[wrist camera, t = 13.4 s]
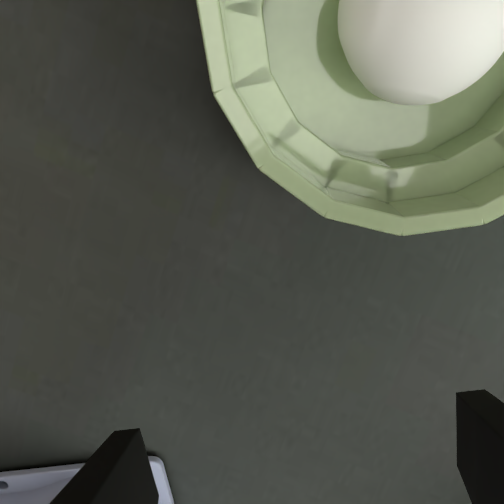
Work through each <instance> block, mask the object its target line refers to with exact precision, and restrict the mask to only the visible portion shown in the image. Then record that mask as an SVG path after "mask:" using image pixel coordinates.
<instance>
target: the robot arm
mask: <svg viewBox="0 0 504 504" xmlns="http://www.w3.org/2000/svg"><path fill="white" fill-rule="evenodd" d="M456 416H457V467H458V469H459V472H460V474H461V477H462V479H463V482H464V484H465V487H466V490H467V492H468V494H469V497H470V499H471V502H472V504H504V403H503V402H501V401H500V400H499V399H497V398H496V397H495V396H493V395H492V394H490V393H489V392H488V391H486V390H485V389H484V390H475V391H466V392H458V393H456ZM0 504H174V500H173V496H172V493H171V489H170V486H169V482H168V478H167V475H166V471H165V468H164V464H163V462H162V460H161V459H160V458H158V457H156V456H147V452H146V449H145V445H144V442H143V438H142V435H141V431H140V428H137V429H128V430H120V431H114V432H113V433H112V434H111V435H110V436H109V437H108V438H107V439H106V441H105V442H104V443H103V444H102V445H101V446H100V447H99V448H98V450H97V451H96V452H95V453H94V454H93V455H92V456H91V458H90V459H89V460H88V461H87V462H86V463H81V464H72V465H62V466H53V467H44V468H34V469H25V470H16V471H7V472H0Z"/></svg>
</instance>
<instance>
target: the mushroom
mask: <svg viewBox="0 0 504 504" xmlns="http://www.w3.org/2000/svg"><path fill="white" fill-rule="evenodd" d="M338 34H339V39H340V42H341V45H342V48H343V51H344V54H345V56H346V59H347V61H348V63H349V65H350V67H351V69H352V71H353V72H354V74H355V75H356V76H357V78H358V79H359V80H360V81H361V83H362V84H363V85H364V87H365V88H366V89H367V90H368V91H369V92H371V93H372V94H374V95H375V96H377V97H379V98H381V99H383V100H385V101H388V102H391V103H395V104H400V105H427V104H433V103H438V102H441V101H443V100H445V99H447V98H449V97H451V96H453V95H455V94H457V93H459V92H461V91H463V90H465V89H466V88H468V87H469V86H471V85H472V84H474V83H475V82H476V81H477V80H479V79H480V78H481V77H482V76H483V75H484V74H485V73H486V72H487V71H488V70H489V69H490V68H491V67H492V66H493V65H494V64H495V63H496V61H497V60H498V59H499V57H500V56H501V55H502V53H503V52H504V0H339V6H338Z"/></svg>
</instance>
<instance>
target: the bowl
mask: <svg viewBox="0 0 504 504" xmlns="http://www.w3.org/2000/svg"><path fill="white" fill-rule="evenodd" d="M196 4H197V10H198V16H199V21H200V27H201V33H202V39H203V44H204V50H205V56H206V61H207V67H208V73H209V79H210V84H211V90H212V92H213V93H214V94H213V95H214V98H215V99H216V101H217V103H218V104H219V106H220V107H221V109H222V111H223V112H224V114H225V116H226V117H227V119H228V121H229V122H230V124H231V126H232V127H233V129H234V131H235V132H236V134H237V136H238V137H239V139H240V141H241V142H242V144H243V146H244V147H245V149H246V151H247V152H248V154H249V156H250V157H251V159H252V160H253V162H254V164H255V165H256V167H257V168H259V170H260V171H261V172H262V173H264V174H265V175H266V176H268V177H269V178H270V179H272V180H273V181H274V182H276V183H277V184H278V185H280V186H281V187H283V188H284V189H285V190H287V191H288V192H289V193H291V194H292V195H293V196H295V197H296V198H298V199H299V200H300V201H302V202H303V203H304V204H306V205H307V206H308V207H310V208H311V209H312V210H314V211H315V212H317V213H318V214H319V215H321V216H324V217H325V218H327V219H331V220H335V221H340V222H344V223H348V224H352V225H356V226H360V227H364V228H368V229H373V230H377V231H381V232H385V233H389V234H393V235H397V236H407V235H414V234H421V233H428V232H436V231H443V230H450V229H457V228H465V227H472V226H479V225H483V224H487V223H489V222H491V221H493V220H495V219H496V218H498V217H500V216H502V215H504V52H503V53H502V55H501V56H500V57H499V59H498V60H497V61H496V63H495V64H494V65H493V66H492V67H491V68H490V69H489V70H488V71H487V72H486V73H485V74H484V75H483V76H482V77H481V78H480V79H479V80H477V81H476V82H475V83H474V84H472V85H471V86H469V87H468V88H466V89H465V90H463V91H461V92H459V93H457V94H455V95H453V96H451V97H449V98H447V99H445V100H443V101H441V102H438V103H433V104H427V105H400V104H395V103H391V102H388V101H385V100H383V99H381V98H379V97H377V96H375V95H374V94H372V93H371V92H369V91H368V90H367V89H366V88H365V87H364V85H363V84H362V83H361V81H360V80H359V79H358V78H357V76H356V75H355V74H354V72H353V71H352V69H351V67H350V65H349V63H348V61H347V59H346V56H345V54H344V51H343V48H342V45H341V42H340V39H339V34H338V6H339V0H196Z"/></svg>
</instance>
